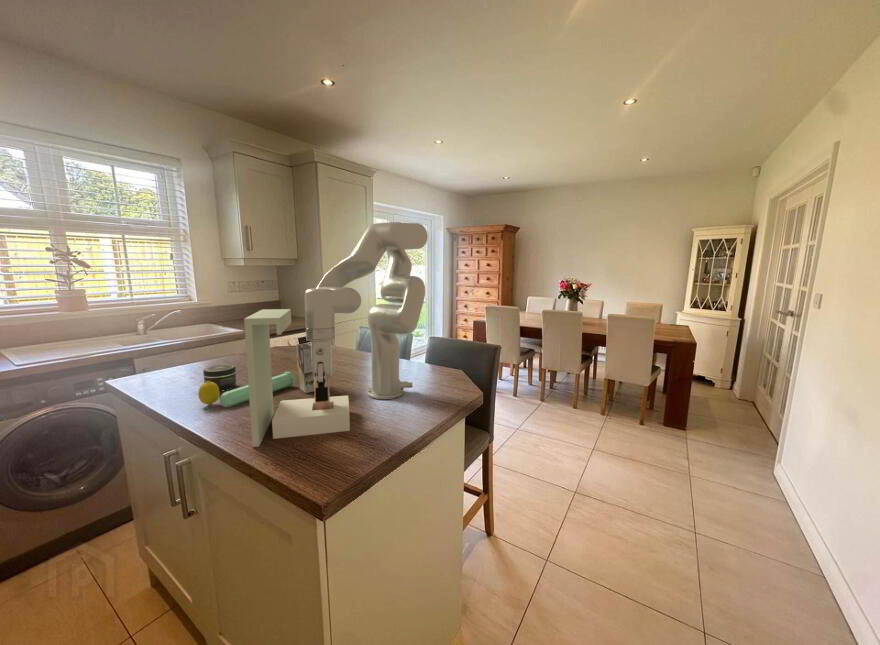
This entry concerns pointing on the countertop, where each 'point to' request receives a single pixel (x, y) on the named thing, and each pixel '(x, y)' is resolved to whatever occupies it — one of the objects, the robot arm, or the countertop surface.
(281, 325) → the grey hook bracket
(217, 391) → the lemon
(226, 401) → the container
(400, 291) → the robot arm
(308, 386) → the coffee box
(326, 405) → the peg
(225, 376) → the jar
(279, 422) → the socket block
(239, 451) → the countertop surface
